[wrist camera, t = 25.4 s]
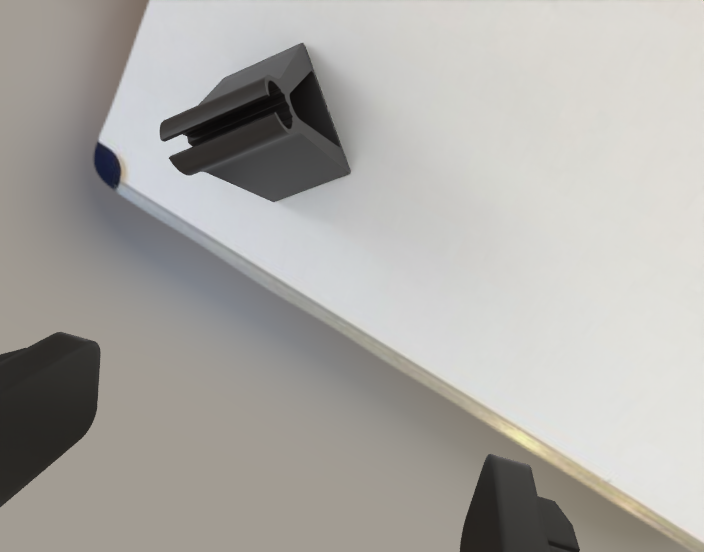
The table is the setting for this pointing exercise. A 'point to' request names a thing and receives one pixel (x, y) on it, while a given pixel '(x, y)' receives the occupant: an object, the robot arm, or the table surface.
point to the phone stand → (263, 130)
